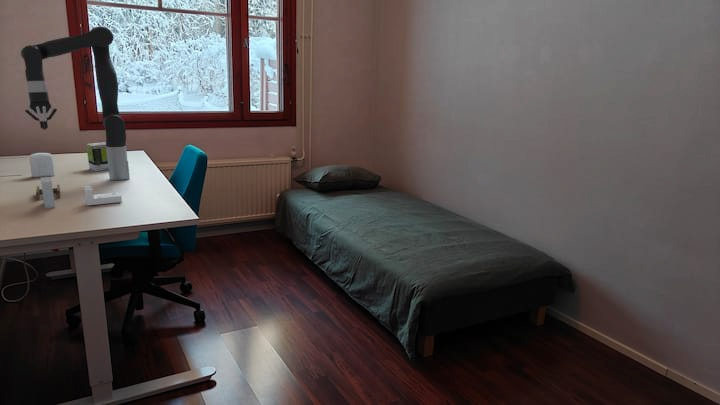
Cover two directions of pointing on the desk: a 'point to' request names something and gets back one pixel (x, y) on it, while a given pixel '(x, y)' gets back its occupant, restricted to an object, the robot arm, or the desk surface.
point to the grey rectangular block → (47, 192)
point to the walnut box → (55, 192)
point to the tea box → (97, 156)
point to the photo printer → (41, 165)
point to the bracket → (100, 197)
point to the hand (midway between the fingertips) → (44, 129)
